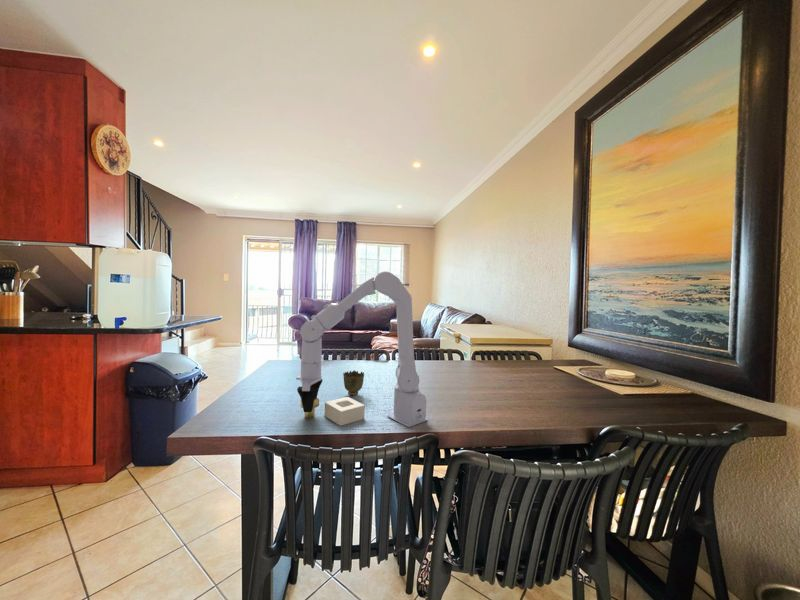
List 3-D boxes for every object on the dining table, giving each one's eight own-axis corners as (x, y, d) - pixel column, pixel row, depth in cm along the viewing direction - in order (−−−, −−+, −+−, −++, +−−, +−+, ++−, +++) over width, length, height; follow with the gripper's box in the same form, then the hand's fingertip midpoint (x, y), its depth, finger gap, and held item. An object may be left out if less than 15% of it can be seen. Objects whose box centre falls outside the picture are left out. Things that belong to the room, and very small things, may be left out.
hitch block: (364, 418, 92) (364, 405, 92) (340, 425, 86) (341, 411, 86) (347, 409, 98) (347, 396, 98) (324, 415, 93) (324, 402, 93)
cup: (367, 394, 113) (368, 372, 113) (354, 400, 107) (355, 377, 106) (351, 390, 117) (352, 369, 117) (338, 395, 110) (338, 373, 110)
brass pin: (321, 417, 91) (322, 400, 91) (305, 422, 88) (305, 404, 87) (313, 412, 95) (314, 396, 95) (297, 416, 91) (297, 399, 91)
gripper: (302, 356, 98) (301, 399, 98) (290, 367, 83) (289, 418, 84) (325, 356, 98) (324, 399, 99) (318, 368, 84) (316, 418, 84)
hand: (309, 407), depth 91 cm, fingers closed on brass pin, 5 cm apart
